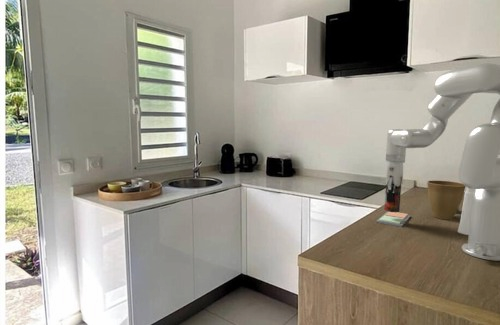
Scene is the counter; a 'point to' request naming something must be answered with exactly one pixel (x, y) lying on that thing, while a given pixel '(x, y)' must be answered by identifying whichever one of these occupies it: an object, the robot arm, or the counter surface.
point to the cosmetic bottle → (466, 212)
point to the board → (394, 218)
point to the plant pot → (445, 198)
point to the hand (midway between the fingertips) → (392, 200)
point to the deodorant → (396, 205)
